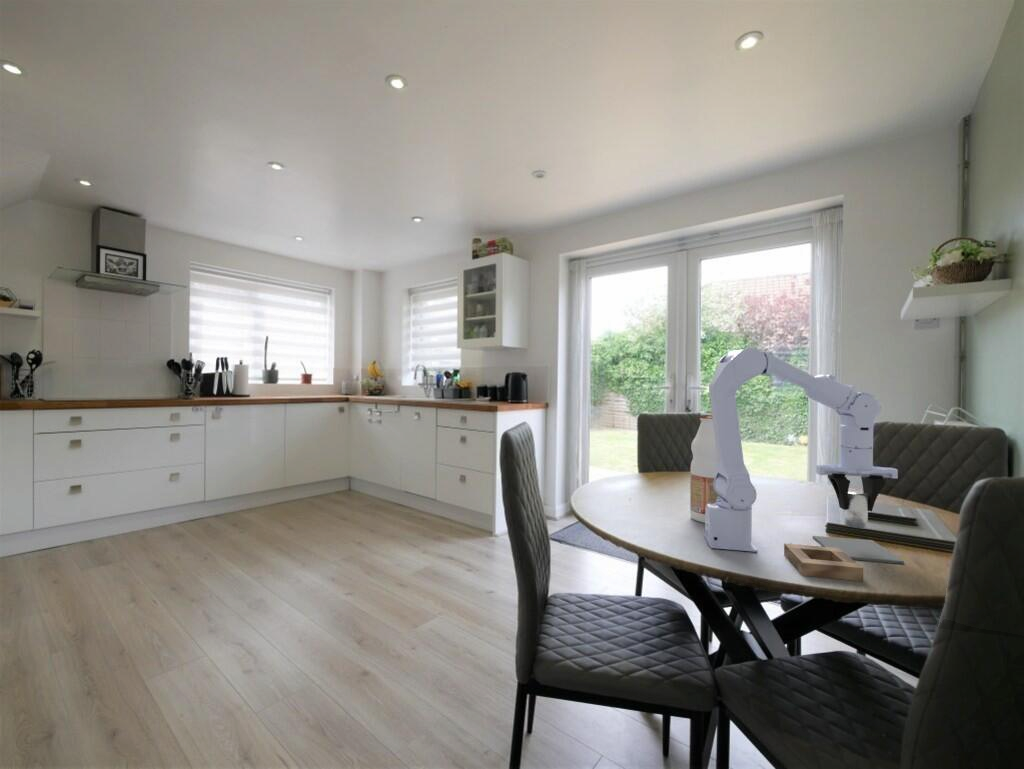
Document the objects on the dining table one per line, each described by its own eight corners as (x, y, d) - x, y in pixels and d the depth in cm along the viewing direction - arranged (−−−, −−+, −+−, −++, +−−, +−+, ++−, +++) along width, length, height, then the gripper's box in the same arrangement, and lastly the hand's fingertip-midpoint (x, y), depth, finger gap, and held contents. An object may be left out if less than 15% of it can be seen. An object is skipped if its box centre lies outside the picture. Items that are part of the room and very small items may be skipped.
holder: (802, 575, 85) (802, 562, 85) (784, 555, 95) (784, 543, 95) (863, 581, 83) (863, 567, 83) (838, 559, 92) (838, 547, 92)
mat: (835, 557, 93) (836, 555, 93) (812, 537, 105) (812, 535, 105) (904, 563, 90) (904, 561, 90) (872, 542, 102) (872, 540, 102)
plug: (847, 526, 96) (848, 494, 96) (841, 521, 100) (842, 490, 100) (870, 529, 95) (871, 496, 95) (863, 523, 98) (864, 492, 98)
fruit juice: (684, 519, 119) (685, 414, 118) (697, 511, 125) (698, 412, 125) (721, 527, 112) (722, 416, 112) (733, 518, 119) (734, 414, 119)
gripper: (826, 448, 95) (825, 512, 95) (906, 451, 92) (906, 517, 92) (812, 443, 102) (812, 503, 102) (887, 446, 98) (886, 507, 99)
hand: (855, 509), depth 97 cm, fingers closed on plug, 4 cm apart
